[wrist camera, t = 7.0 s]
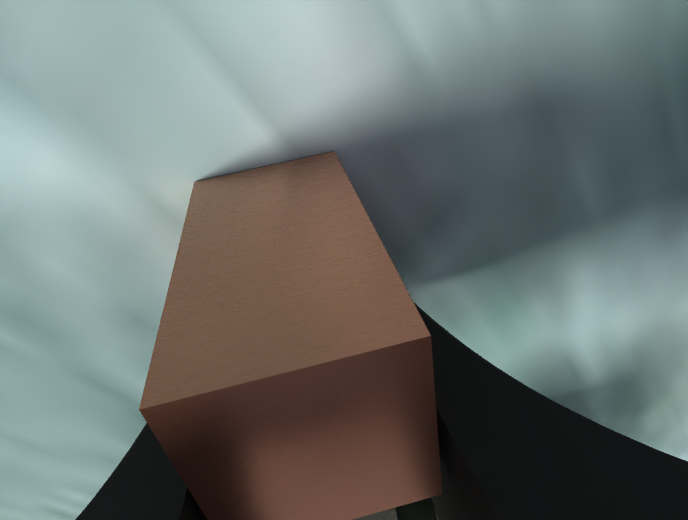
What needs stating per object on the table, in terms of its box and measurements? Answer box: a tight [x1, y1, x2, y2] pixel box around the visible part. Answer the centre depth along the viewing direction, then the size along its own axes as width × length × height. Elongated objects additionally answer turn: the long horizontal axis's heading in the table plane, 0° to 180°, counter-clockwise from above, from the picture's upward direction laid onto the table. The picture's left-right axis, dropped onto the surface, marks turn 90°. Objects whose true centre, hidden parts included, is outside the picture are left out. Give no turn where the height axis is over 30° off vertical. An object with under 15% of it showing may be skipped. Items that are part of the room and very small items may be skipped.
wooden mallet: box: [139, 151, 442, 520], centre depth 12 cm, size 3×17×6 cm, turn 9°
